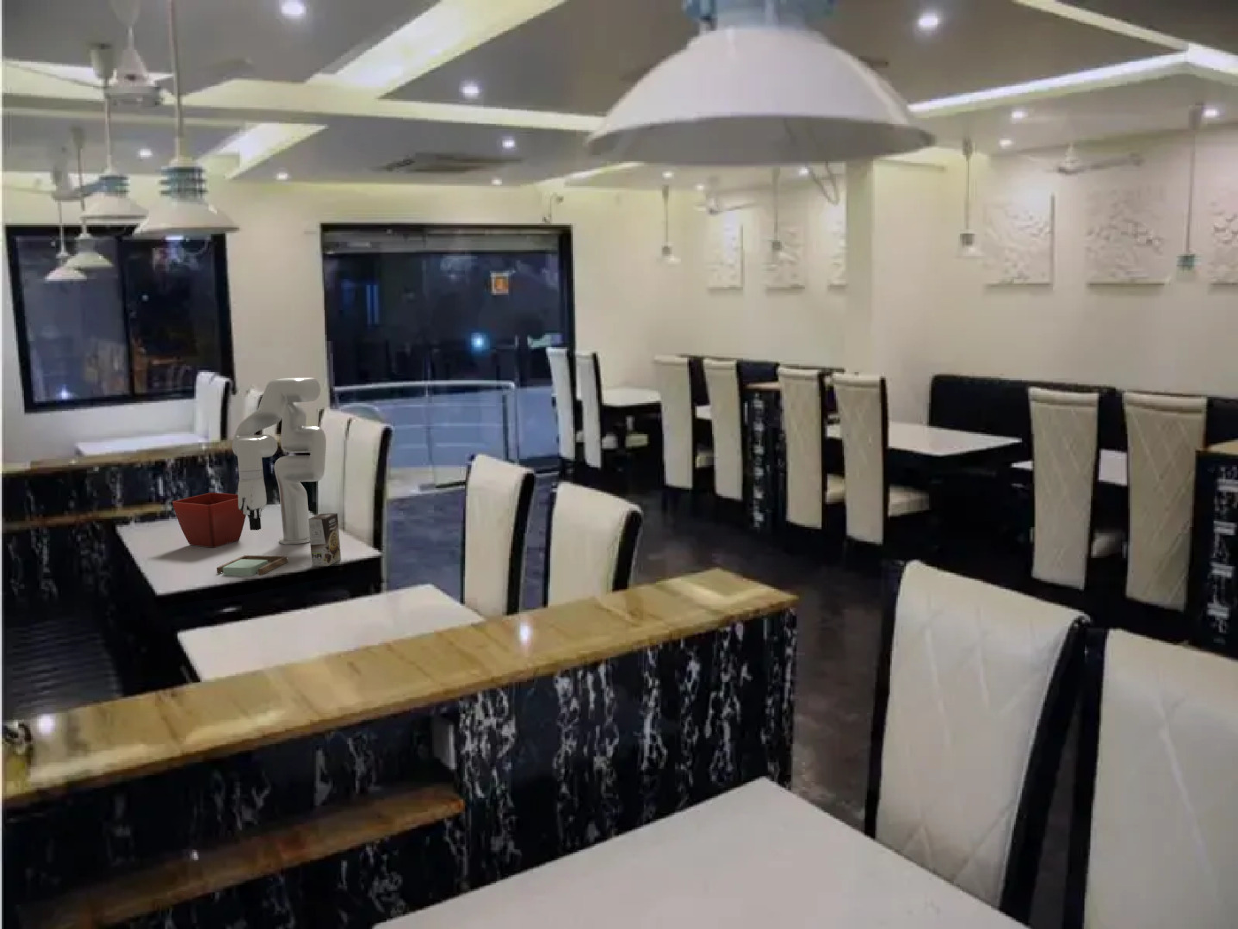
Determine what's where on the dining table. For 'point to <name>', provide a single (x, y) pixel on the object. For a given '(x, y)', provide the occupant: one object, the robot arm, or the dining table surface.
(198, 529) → the plant pot
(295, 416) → the robot arm
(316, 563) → the coffee box
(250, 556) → the u-shaped wooden frame
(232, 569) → the cover plate
